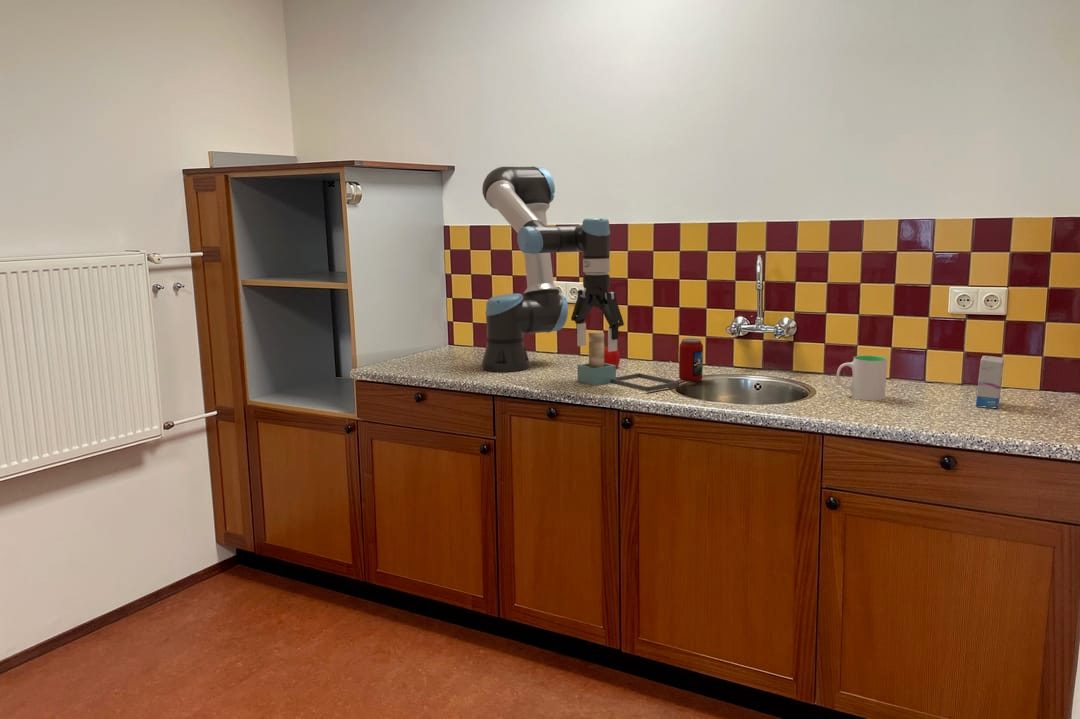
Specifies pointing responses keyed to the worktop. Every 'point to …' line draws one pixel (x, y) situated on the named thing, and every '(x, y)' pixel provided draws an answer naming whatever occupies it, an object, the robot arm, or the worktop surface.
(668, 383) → the dark grey rectangular frame
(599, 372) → the teal open box
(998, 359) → the ink box
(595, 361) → the dowel
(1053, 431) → the worktop surface
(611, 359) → the tomato
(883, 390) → the mug
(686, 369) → the beverage can
